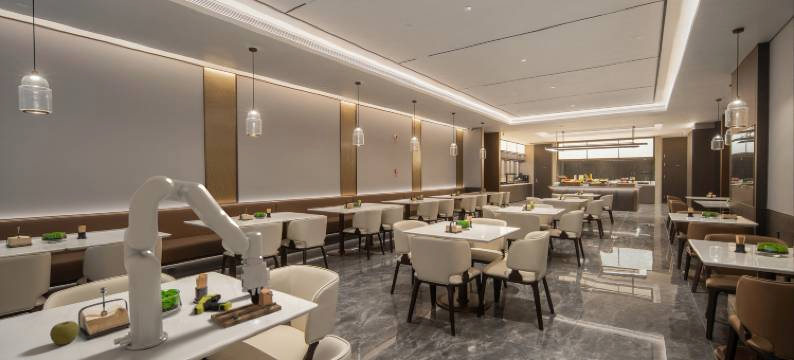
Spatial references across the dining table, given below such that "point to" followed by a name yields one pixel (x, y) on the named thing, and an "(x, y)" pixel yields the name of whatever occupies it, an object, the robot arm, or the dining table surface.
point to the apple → (64, 332)
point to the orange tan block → (265, 297)
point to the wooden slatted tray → (243, 313)
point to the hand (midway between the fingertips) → (255, 302)
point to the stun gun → (211, 304)
